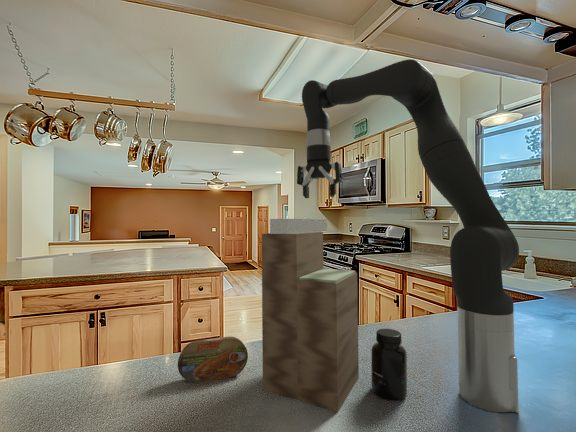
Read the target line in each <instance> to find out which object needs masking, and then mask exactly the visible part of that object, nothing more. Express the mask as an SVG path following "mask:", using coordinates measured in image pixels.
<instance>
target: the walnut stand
mask: <svg viewBox="0 0 576 432" xmlns="http://www.w3.org/2000/svg"><path fill="white" fill-rule="evenodd" d="M358 300H359V299H358V272H356V270H350V269H337V268H335V269H333V268H324V231H321V232H307V233H293V234H270V232H269V233H267V232H265V233H261V306H262V307H261V308H262V309H261V310H262V312H261V320H262V323H261V324H262V325H261V329H262V330H261V333H262V342H261V343H262V346H261V347H262V391H264V392H267V393H270V394H273V395H277V396H280V397H283V398H288V399H291V400H294V401H296V402H297V401H298V402H300V403H304V404H309V405H311V406H316V407H319V408H322V409H326V410H329V411H332V412H337V413H338V412H339V411H340V409H341V408H342V407H343V405H344V403H345V401H346V400H347V398H348V396H349V395H350V393H351V392H352V389H353V388H354V386H355V385H356V383H357V381H358V380H359V378H360V377H359V376H360V374H359V372H360V371H359V367H360V366H359V364H360V363H359V314H358V313H359V309H358V308H359V307H358V302H359V301H358Z"/></svg>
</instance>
